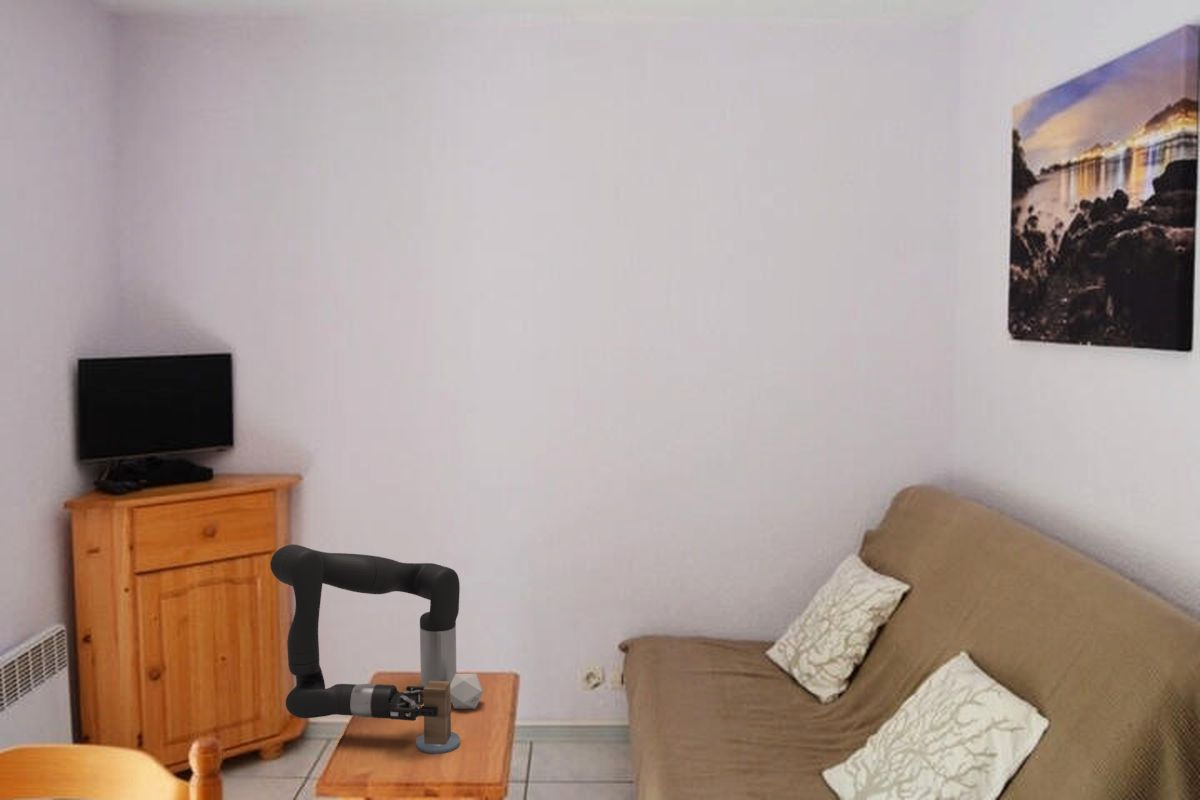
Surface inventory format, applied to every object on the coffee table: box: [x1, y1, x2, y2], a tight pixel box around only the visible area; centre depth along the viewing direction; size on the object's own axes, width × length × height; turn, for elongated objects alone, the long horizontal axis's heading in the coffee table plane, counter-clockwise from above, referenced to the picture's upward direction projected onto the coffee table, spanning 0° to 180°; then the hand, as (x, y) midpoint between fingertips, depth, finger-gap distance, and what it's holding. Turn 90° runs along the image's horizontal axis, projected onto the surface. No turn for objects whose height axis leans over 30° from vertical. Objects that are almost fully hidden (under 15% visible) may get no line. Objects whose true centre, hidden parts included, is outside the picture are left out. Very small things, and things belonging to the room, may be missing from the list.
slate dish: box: [415, 731, 461, 755], centre depth 253 cm, size 10×10×1 cm
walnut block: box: [423, 681, 452, 744], centre depth 252 cm, size 5×5×13 cm
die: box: [450, 673, 484, 710], centre depth 274 cm, size 8×9×10 cm
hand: (442, 704), depth 251 cm, fingers open, 8 cm apart
